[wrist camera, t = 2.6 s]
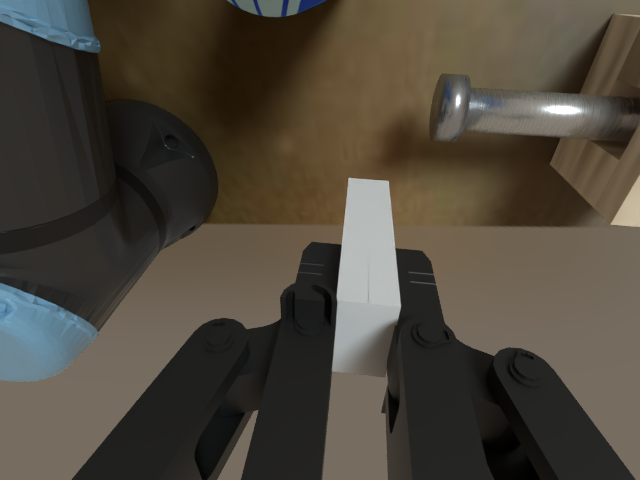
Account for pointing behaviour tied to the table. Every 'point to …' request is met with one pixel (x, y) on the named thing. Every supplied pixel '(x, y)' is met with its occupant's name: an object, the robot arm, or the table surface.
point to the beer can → (275, 6)
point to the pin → (529, 113)
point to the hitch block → (609, 156)
